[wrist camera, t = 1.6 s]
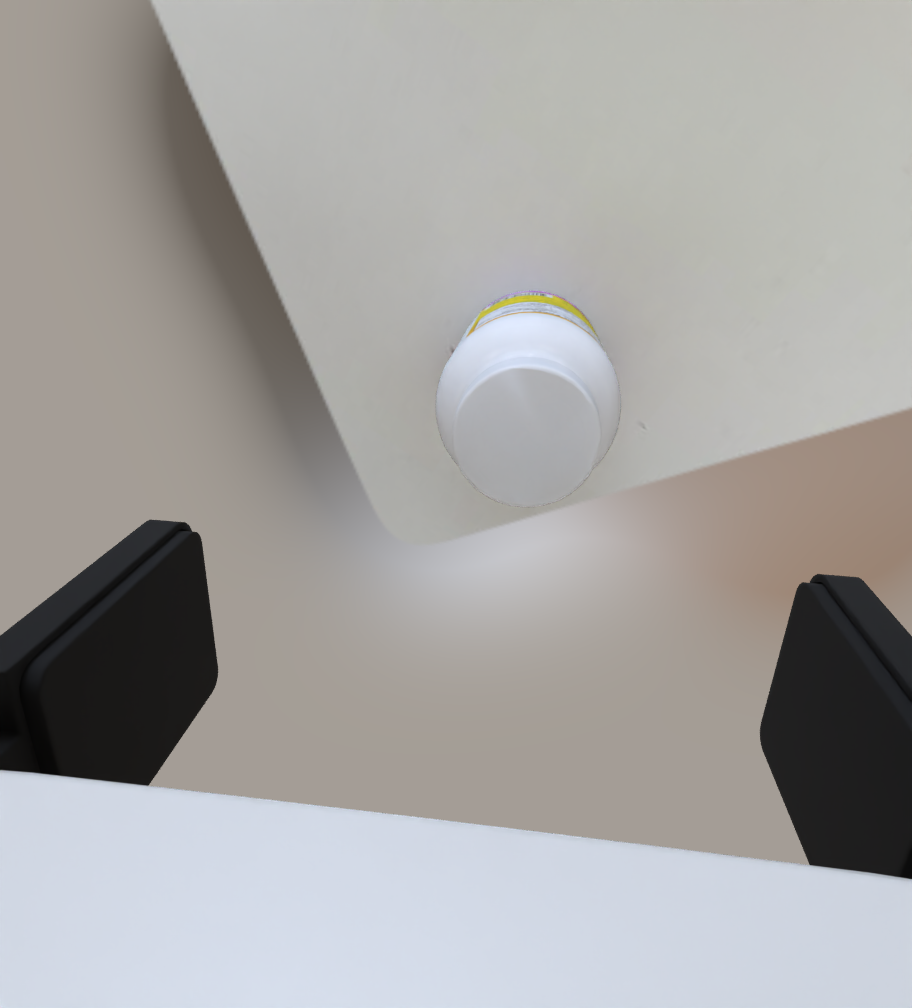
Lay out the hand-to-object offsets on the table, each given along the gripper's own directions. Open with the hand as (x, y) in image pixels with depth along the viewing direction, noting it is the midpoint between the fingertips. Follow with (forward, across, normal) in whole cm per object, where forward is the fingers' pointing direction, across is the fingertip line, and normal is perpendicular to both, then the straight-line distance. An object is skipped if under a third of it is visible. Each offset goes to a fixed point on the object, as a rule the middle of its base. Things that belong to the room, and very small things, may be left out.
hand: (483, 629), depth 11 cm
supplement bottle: (+24, 0, 0) cm, 24 cm away
